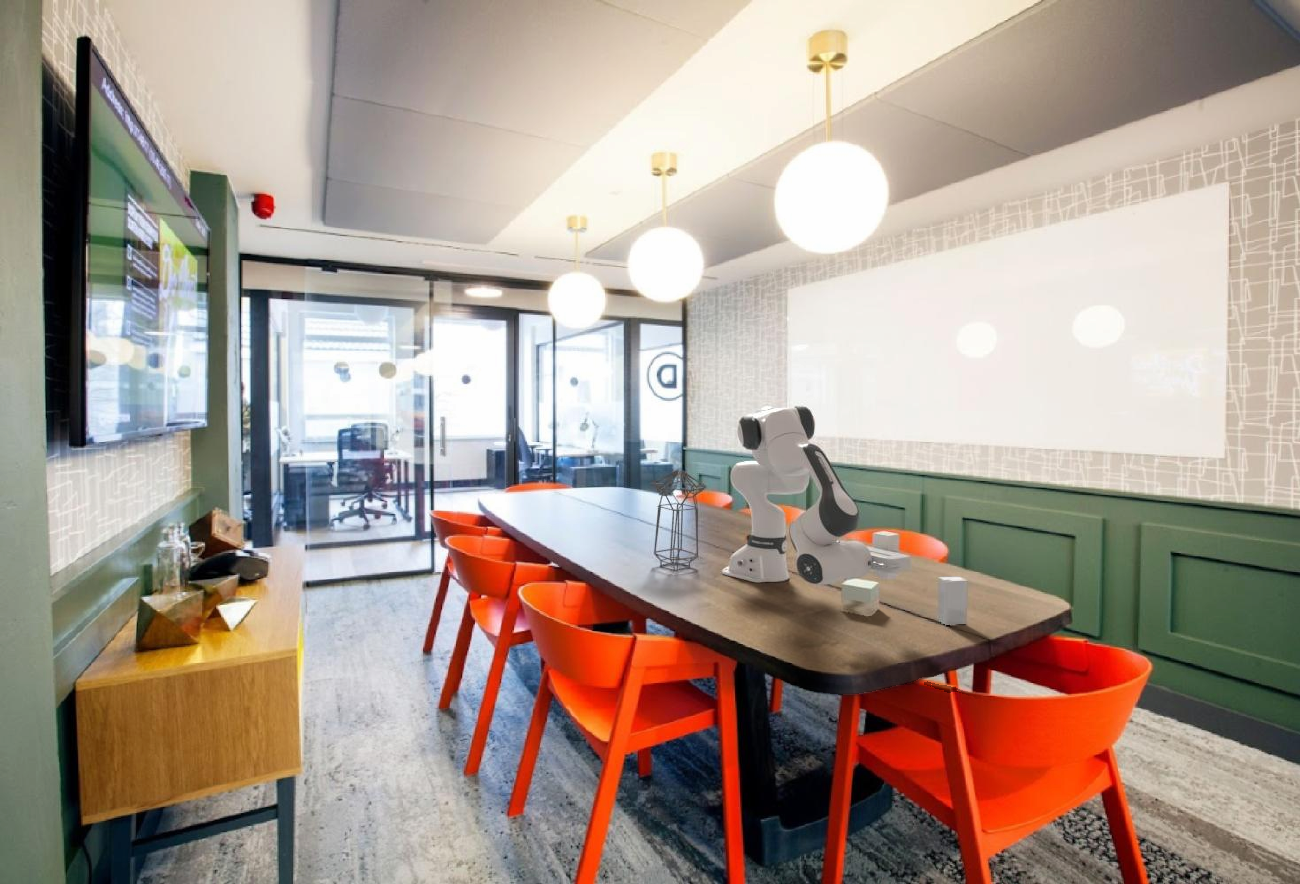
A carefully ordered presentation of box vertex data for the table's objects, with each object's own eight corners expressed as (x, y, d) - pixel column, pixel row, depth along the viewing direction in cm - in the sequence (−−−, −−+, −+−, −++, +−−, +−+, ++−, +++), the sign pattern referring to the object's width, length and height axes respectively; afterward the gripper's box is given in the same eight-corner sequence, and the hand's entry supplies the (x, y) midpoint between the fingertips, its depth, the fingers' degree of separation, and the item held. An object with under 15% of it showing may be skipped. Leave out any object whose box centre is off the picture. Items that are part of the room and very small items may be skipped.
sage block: (841, 598, 175) (841, 584, 175) (849, 591, 181) (850, 577, 181) (870, 603, 170) (871, 588, 170) (878, 596, 177) (878, 582, 177)
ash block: (841, 612, 175) (841, 598, 175) (850, 605, 182) (851, 591, 181) (869, 618, 170) (870, 603, 170) (878, 610, 177) (879, 596, 177)
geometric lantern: (676, 559, 233) (680, 466, 231) (706, 569, 221) (710, 471, 219) (644, 565, 223) (647, 468, 221) (673, 576, 211) (677, 473, 209)
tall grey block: (887, 579, 156) (888, 536, 155) (871, 575, 159) (872, 533, 159) (897, 577, 158) (899, 534, 158) (882, 573, 162) (883, 531, 161)
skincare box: (957, 620, 168) (959, 575, 168) (967, 626, 164) (969, 580, 163) (935, 620, 168) (937, 576, 167) (945, 626, 163) (946, 580, 162)
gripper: (891, 555, 142) (925, 548, 150) (820, 539, 159) (854, 533, 167) (890, 582, 143) (925, 574, 151) (819, 563, 160) (854, 556, 167)
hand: (887, 552), depth 159 cm, fingers closed on tall grey block, 4 cm apart
